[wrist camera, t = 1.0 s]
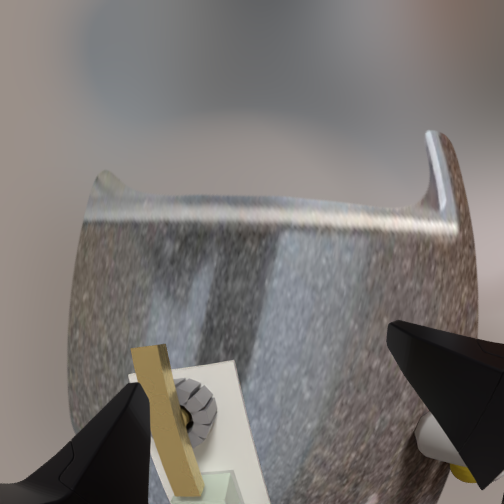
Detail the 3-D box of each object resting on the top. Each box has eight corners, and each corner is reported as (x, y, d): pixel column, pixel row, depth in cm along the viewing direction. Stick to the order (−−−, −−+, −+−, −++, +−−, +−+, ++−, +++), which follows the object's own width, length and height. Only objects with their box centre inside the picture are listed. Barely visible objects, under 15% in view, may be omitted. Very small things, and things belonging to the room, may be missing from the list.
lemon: (430, 468, 19) (467, 494, 11) (452, 427, 20) (495, 444, 12) (457, 469, 18) (493, 489, 10) (477, 431, 19) (518, 444, 12)
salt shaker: (416, 458, 20) (485, 504, 7) (400, 427, 21) (478, 472, 8) (454, 424, 20) (531, 450, 8) (441, 390, 22) (527, 411, 9)
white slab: (272, 506, 19) (274, 534, 14) (179, 512, 19) (167, 537, 14) (234, 359, 23) (228, 368, 19) (132, 373, 23) (107, 381, 18)
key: (213, 461, 20) (200, 496, 14) (192, 462, 20) (175, 496, 14) (182, 340, 23) (157, 345, 17) (161, 343, 23) (130, 348, 17)
